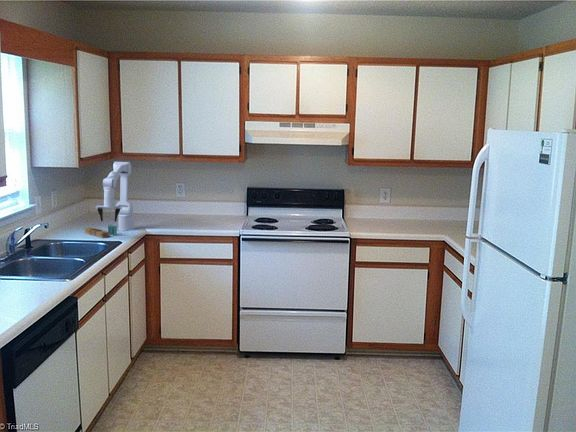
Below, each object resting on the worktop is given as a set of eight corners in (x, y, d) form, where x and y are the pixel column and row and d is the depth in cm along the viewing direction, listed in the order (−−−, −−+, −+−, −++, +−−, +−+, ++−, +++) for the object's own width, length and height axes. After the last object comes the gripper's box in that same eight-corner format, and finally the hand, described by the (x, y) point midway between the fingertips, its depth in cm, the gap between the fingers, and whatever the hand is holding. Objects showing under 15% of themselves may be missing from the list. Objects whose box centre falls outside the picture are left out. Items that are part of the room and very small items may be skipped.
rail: (91, 231, 326) (91, 227, 326) (109, 236, 314) (109, 232, 314) (84, 233, 323) (84, 228, 322) (102, 238, 310) (102, 233, 310)
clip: (108, 234, 321) (107, 224, 320) (111, 233, 323) (110, 224, 322) (114, 235, 317) (113, 226, 316) (117, 235, 319) (116, 225, 318)
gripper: (95, 198, 302) (94, 221, 302) (121, 198, 305) (120, 222, 305) (96, 198, 309) (96, 220, 309) (122, 198, 312) (122, 221, 312)
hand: (108, 221), depth 308 cm, fingers open, 7 cm apart
